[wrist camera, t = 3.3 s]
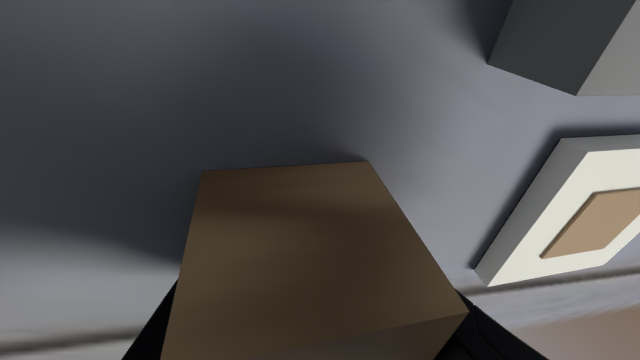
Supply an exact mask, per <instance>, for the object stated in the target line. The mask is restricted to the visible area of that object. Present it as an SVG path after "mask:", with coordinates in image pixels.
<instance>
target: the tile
mask: <svg viewBox="0 0 640 360" xmlns="http://www.w3.org/2000/svg"><path fill="white" fill-rule="evenodd" d="M639 232H640V134H636V135H616V136H597V137H577V138H561V140H560V141H559V143H558V144H557V146H556V147H555V149H554V150H553V152H552V153H551V155H550V156H549V158H548V159H547V161H546V162H545V164H544V165H543V167H542V168H541V170H540V171H539V173H538V174H537V176H536V177H535V179H534V180H533V182H532V183H531V185H530V187H529V188H528V190H527V191H526V193H525V194H524V196H523V197H522V199H521V200H520V202H519V203H518V205H517V206H516V208H515V209H514V211H513V212H512V214H511V215H510V217H509V218H508V220H507V221H506V223H505V224H504V226H503V227H502V229H501V230H500V232H499V233H498V235H497V236H496V238H495V239H494V241H493V242H492V244H491V245H490V247H489V249H488V250H487V252H486V253H485V255H484V256H483V258H482V259H481V261H480V262H479V264H478V265H477V267H476V268H475V270H474V271H475V272H476V274H477V275H478V276H479V278H480V279H481V280H482V281H483V283H484V284H485V285H486V286H487V287H489V286H494V285H500V284H505V283H510V282H516V281H521V280H526V279H532V278H537V277H542V276H548V275H553V274H558V273H564V272H569V271H574V270H580V269H585V268H590V267H596V266H601V265H604V264H605V263H606V262H607V261H608V260H609V259H611V258H612V257H613V256H614V255H615V254H616V253H617V252H618V251H619V250H620V249H622V248H623V247H624V246H625V245H626V244H627V243H628V242H629V241H630V240H631V239H633V238H634V237H635V236H636V235H637V234H638V233H639Z"/></svg>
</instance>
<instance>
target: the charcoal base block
mask: <svg viewBox="0 0 640 360" xmlns="http://www.w3.org/2000/svg"><path fill="white" fill-rule="evenodd" d="M488 65H491V66H494V67H496V68H499V69H502V70H505V71H507V72H510V73H513V74H516V75H519V76H521V77H524V78H527V79H530V80H533V81H535V82H538V83H541V84H544V85H546V86H549V87H552V88H555V89H558V90H560V91H563V92H566V93H569V94H572V95H574V96H623V95H640V0H513V2H512V5H511V7H510V10H509V12H508V15H507V17H506V20H505V22H504V25H503V27H502V29H501V32H500V34H499V37H498V39H497V42H496V44H495V47H494V49H493V52H492V54H491V56H490V59H489V61H488Z"/></svg>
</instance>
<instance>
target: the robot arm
mask: <svg viewBox="0 0 640 360" xmlns="http://www.w3.org/2000/svg"><path fill="white" fill-rule="evenodd" d="M177 282H178V279H177V281H176V282H175V283H174V285H173V286H172V288H171V289H170V291H169V292H168V293H167V295H166V296H165V298H164V299H163V301H162V302H161V304H160V305H159V306H158V308H157V309H156V311H155V312H154V314H153V315H152V316H151V318H150V319H149V321H148V322H147V324H146V325H145V326H144V328H143V329H142V331H141V332H140V334H139V335H138V336H137V338H136V339H135V341H134V342H133V344H132V345H131V347H130V348H129V349H128V351H127V352H126V354H125V355H124V357H123V358H122V359H121V360H160V358H161V354H162V349H163V345H164V340H165V336H166V331H167V327H168V322H169V318H170V313H171V309H172V304H173V300H174V295H175V291H176V286H177ZM454 289H455V288H454ZM455 291H456V292H457V294H458V295H459V297H460V298H461V300H462V301H463V303H464V304H465V306H466V307H467V308H468V310H469V311H470V312H469V313H468V314H467V316H466V317H465V318H464V320H463V321H462V322H461V324H460V325H459V326H458V328H457V329H456V330H455V332H454V333H453V334H452V336H451V337H450V338H449V340H448V341H447V342H446V343H445V345H444V346H443V347H442V349H441V350H440V351H439V353H438V354H437V355H436V357H435V358H434V359H433V360H549V359H547V358H546V357H545V356H543V355H541V354H540V353H539V352H537V351H536V350H535V349H533V348H532V347H530V346H529V345H527V344H526V343H525V342H523V341H522V340H520V339H519V338H518V337H516V336H515V335H513V334H512V333H511V332H509V331H508V330H507V329H505V328H504V327H503V326H501V325H500V324H499V323H497V322H496V321H495V320H494V319H492V318H491V317H490V316H488V315H487V314H486V313H485V312H483V311H482V310H481V309H480V308H478V307H477V306H476V305H473V303H472V302H471V301H470V300H468V299H467V298H466V297H465V296H463V295H462V294H461V293H460V292H458V291H457V290H456V289H455Z"/></svg>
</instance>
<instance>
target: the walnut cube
mask: <svg viewBox="0 0 640 360" xmlns="http://www.w3.org/2000/svg"><path fill="white" fill-rule="evenodd" d="M469 312H470V311H469V310H468V308H467V307H466V306H465V304H464V303H463V301H462V300H461V298H460V297H459V295H458V294H457V292H456V291H455V289H454V288H453V286H452V285H451V283H450V282H449V280H448V279H447V277H446V276H445V274H444V273H443V271H442V270H441V268H440V267H439V265H438V264H437V262H436V261H435V259H434V258H433V256H432V255H431V253H430V252H429V250H428V249H427V247H426V246H425V244H424V243H423V241H422V240H421V238H420V237H419V235H418V234H417V233H416V231H415V230H414V228H413V227H412V225H411V224H410V222H409V221H408V219H407V218H406V216H405V215H404V213H403V212H402V210H401V209H400V207H399V206H398V204H397V203H396V201H395V200H394V198H393V197H392V195H391V194H390V192H389V191H388V189H387V188H386V186H385V185H384V183H383V182H382V180H381V179H380V177H379V176H378V174H377V173H376V171H375V170H374V168H373V167H372V165H371V164H370V163H369V161H361V162H344V163H328V164H312V165H296V166H279V167H263V168H247V169H231V170H214V171H202V175H201V179H200V184H199V188H198V193H197V197H196V201H195V206H194V210H193V215H192V219H191V224H190V228H189V233H188V237H187V242H186V246H185V251H184V255H183V260H182V264H181V269H180V273H179V278H178V282H177V286H176V291H175V295H174V300H173V304H172V309H171V313H170V318H169V322H168V327H167V331H166V336H165V340H164V345H163V349H162V354H161V358H160V360H433V359H434V358H435V357H436V355H437V354H438V353H439V351H440V350H441V349H442V347H443V346H444V345H445V343H446V342H447V341H448V340H449V338H450V337H451V336H452V334H453V333H454V332H455V330H456V329H457V328H458V326H459V325H460V324H461V322H462V321H463V320H464V318H465V317H466V316H467V314H468V313H469Z"/></svg>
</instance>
